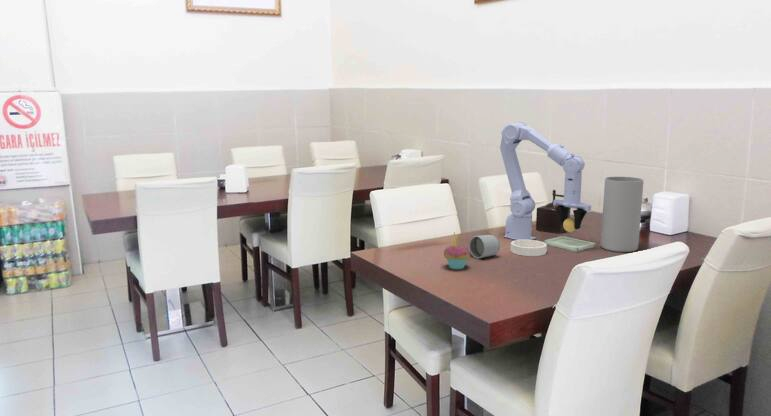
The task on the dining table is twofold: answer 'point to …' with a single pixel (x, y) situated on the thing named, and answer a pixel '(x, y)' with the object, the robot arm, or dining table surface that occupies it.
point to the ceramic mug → (484, 246)
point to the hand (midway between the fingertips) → (570, 227)
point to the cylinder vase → (621, 213)
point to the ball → (569, 224)
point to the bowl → (528, 247)
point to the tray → (569, 243)
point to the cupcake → (456, 255)
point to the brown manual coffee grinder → (549, 217)
